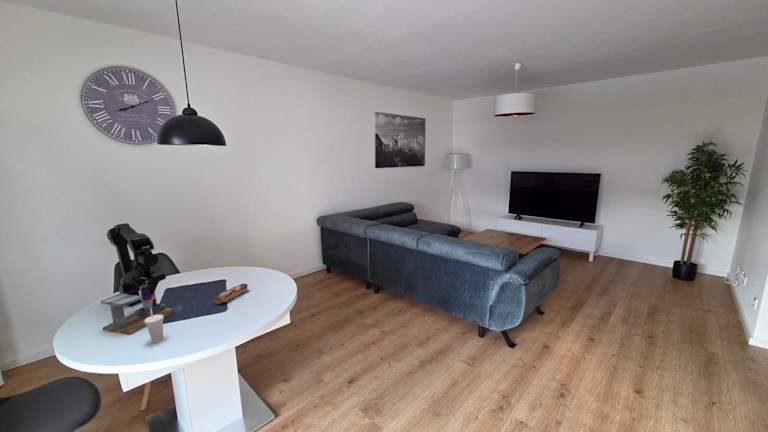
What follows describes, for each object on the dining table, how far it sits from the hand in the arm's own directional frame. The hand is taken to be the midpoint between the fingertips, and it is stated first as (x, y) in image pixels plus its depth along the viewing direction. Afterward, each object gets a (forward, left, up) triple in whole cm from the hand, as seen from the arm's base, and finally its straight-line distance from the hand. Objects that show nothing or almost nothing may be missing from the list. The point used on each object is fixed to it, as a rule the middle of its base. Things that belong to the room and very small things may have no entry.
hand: (148, 293), depth 150 cm
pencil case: (+25, +25, -11) cm, 37 cm away
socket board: (0, -6, -11) cm, 12 cm away
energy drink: (0, 0, -8) cm, 8 cm away
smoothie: (+23, -16, -11) cm, 30 cm away
